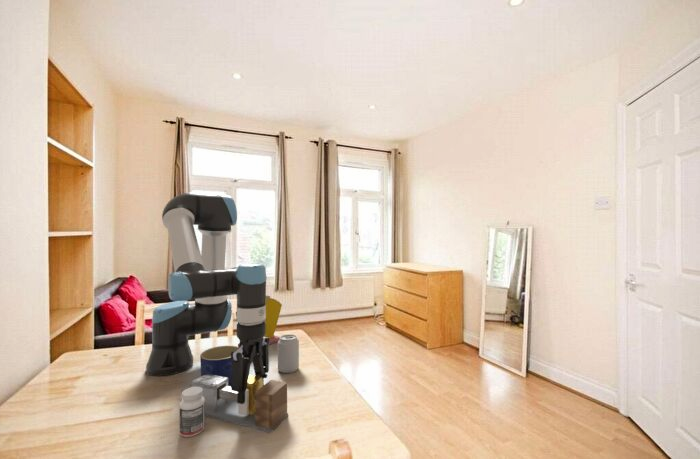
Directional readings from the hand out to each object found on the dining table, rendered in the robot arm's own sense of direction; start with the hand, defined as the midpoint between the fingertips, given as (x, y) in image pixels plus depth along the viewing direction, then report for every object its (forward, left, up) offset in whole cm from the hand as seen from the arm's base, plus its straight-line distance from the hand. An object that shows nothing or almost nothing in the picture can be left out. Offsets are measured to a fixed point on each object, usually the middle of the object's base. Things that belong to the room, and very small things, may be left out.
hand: (251, 407), depth 85 cm
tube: (-4, 0, 0) cm, 4 cm away
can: (-6, +29, -3) cm, 30 cm away
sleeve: (-14, 0, -2) cm, 14 cm away
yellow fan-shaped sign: (-32, +48, -3) cm, 58 cm away
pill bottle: (-10, -10, -3) cm, 14 cm away
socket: (+7, 0, -2) cm, 7 cm away
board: (-4, 0, -2) cm, 5 cm away
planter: (-20, +11, -3) cm, 23 cm away
